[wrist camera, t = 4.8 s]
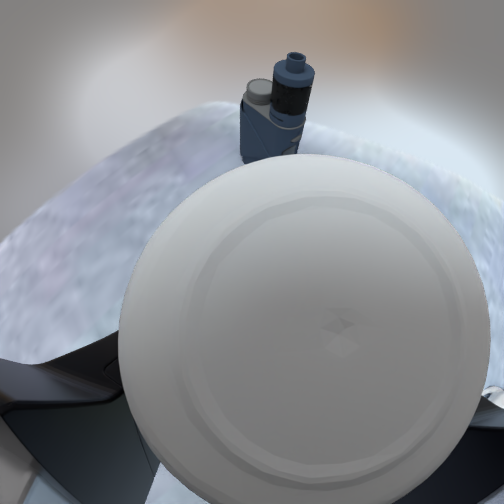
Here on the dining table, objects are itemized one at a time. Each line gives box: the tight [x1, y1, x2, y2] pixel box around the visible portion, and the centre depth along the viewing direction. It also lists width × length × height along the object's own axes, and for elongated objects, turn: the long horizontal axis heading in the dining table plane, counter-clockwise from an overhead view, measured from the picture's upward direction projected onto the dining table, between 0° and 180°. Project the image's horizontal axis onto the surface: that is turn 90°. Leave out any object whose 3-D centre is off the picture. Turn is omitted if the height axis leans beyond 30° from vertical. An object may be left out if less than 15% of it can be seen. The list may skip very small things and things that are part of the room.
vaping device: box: [240, 52, 315, 164], centre depth 19 cm, size 3×5×12 cm, turn 40°
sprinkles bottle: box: [118, 154, 491, 504], centre depth 9 cm, size 5×5×14 cm
